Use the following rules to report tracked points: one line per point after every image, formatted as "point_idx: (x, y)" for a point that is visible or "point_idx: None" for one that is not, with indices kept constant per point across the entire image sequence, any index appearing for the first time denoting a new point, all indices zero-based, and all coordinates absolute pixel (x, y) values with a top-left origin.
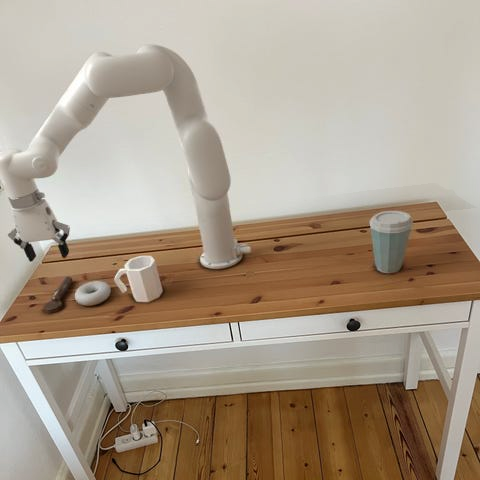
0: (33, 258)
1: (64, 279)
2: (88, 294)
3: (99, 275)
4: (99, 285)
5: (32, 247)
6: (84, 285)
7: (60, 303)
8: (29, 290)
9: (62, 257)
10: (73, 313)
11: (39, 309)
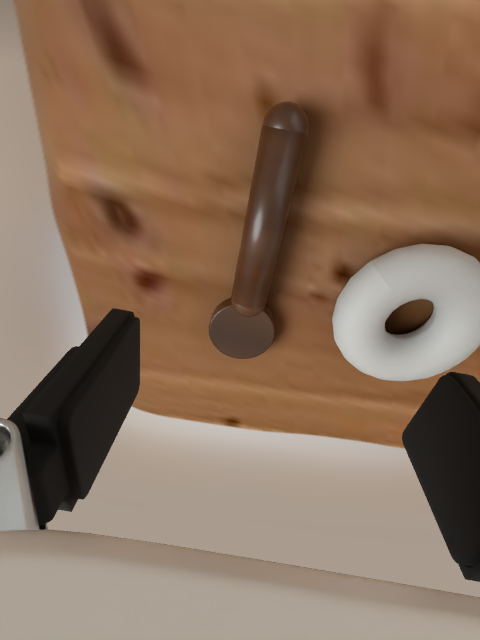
0: (136, 370)
1: (272, 155)
2: (402, 372)
3: (463, 74)
4: (460, 314)
5: (92, 385)
6: (392, 299)
7: (272, 335)
8: (66, 128)
9: (403, 441)
10: (317, 371)
11: (185, 314)
